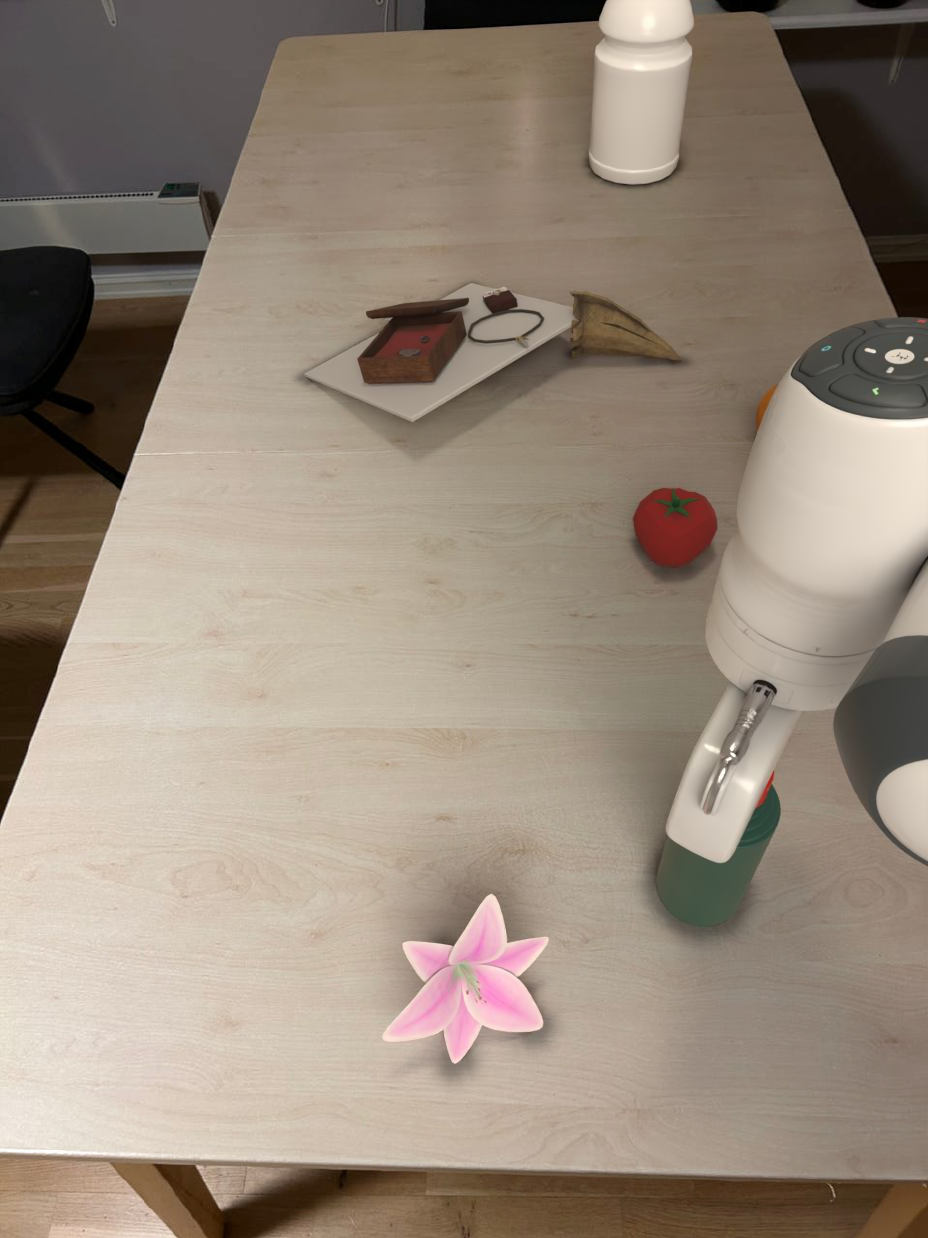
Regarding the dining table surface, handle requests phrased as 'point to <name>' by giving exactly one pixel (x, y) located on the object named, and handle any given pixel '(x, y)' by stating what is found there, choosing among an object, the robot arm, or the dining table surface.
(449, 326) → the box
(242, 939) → the dining table surface
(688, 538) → the tomato
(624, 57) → the bottle
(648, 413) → the dining table surface
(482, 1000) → the lily
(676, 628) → the dining table surface
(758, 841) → the bottle
